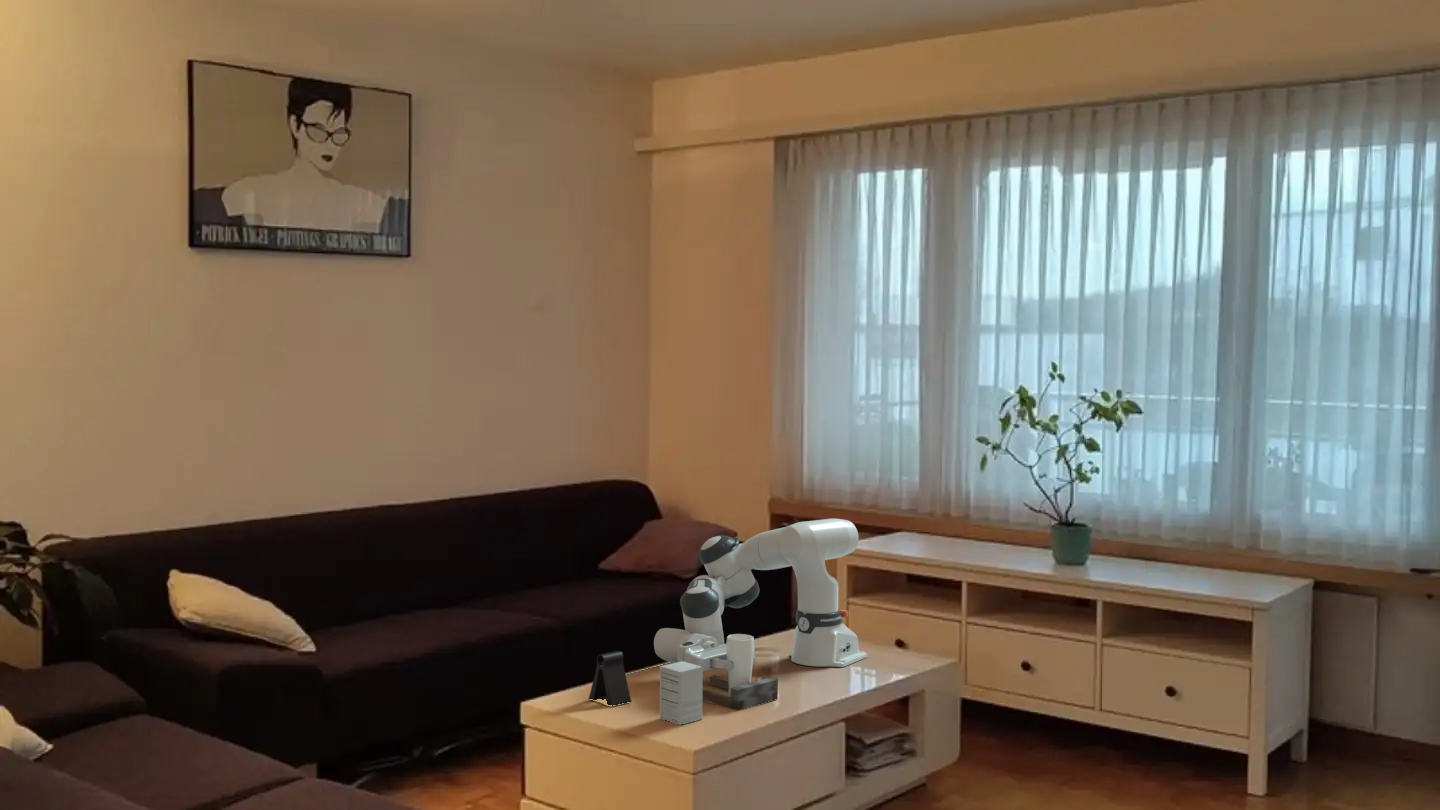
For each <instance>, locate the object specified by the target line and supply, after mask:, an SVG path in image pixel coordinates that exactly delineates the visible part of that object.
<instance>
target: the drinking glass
mask: <svg viewBox="0 0 1440 810" xmlns="http://www.w3.org/2000/svg"><path fill="white" fill-rule="evenodd" d="M726 643H727V645H726V655H727V660H730V661H733V663H734V664H733V668H731V669H726V670H727V678H728V686H729V689H728V696H729V697H731V688H732V687H736V686H740V685H744V684H748V683H752V677H753V676H752V675H753V665H754V663H753V658H754V647H755V638H754V636H752V635H750V634H745V633H743V634H742V633H734V634H729V635H728V636H727V637H726Z"/></svg>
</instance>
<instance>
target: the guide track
mask: <svg viewBox="0 0 1440 810" xmlns="http://www.w3.org/2000/svg"><path fill="white" fill-rule="evenodd" d="M778 681H779V680H778V679H776V678H773V677H768V678H764V679H760V680H756V681H751V683H748V684H744V685H740V686H736V687H732V688H731V697H729V695H725V694H721V693H719V692H714V691H710V690H706V689H703V688H702V701H703V700H704V701H703V702H706V701H707V703H710V702H711V703H710V704H713V703H714V704H713V705H717V704H718V705H717V706H720V705H721V707H725V708H727V707H728V708H727V709H731V710H734V709H735V711H741V709H742V710H745V709H748V708H747V707H749V708H752V707H751V706H753V707H755V705H756V706H759V705H758V704H760V705H763V704H762V703H764V704H766V703H765V702H767V703H769V702H768V701H771V700H774V701H776V700H775V699H778V692H779V691H778V687H779V682H778ZM708 685H712V686H714V687H718V688H721V687H722V689H726V690H729V686H728V677H723V676H719V675H715V674H714V675H709V676H708ZM771 702H772V701H771ZM744 708H745V709H744Z"/></svg>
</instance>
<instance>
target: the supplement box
mask: <svg viewBox="0 0 1440 810" xmlns="http://www.w3.org/2000/svg"><path fill="white" fill-rule="evenodd" d="M702 689H703V672H702V667H701V666H698V665H694V664H691V663H687V662H683V661H681V662H677V663H668V664H664V665H660V666H659V719H660V718H661V719H660V720H662V719H664V720H663V721H665V720H667V721H666V722H668V721H670V722H669V723H671V722H673V723H672V724H674V723H676V724H675V725H677V724H679V725H678V726H682V725H681V724H683V725H686V724H689V722H690V723H694V722H697V720H698V721H700V719H701V720H703V700H702ZM693 721H694V722H693Z"/></svg>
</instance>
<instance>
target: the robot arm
mask: <svg viewBox="0 0 1440 810" xmlns="http://www.w3.org/2000/svg"><path fill="white" fill-rule="evenodd" d="M739 542H740V540H739V538H738V537H731V536H729V535H722V534H721V535H716V536H713V537H711V538H709V539H707V540H706V541H705V542H704V543H703V544H702V545H701V546H700V547H699V551H698V557H699V561H700V563H701V564H702V565H704V568H705V570H706V572H707V574H708V575H707V574H703V575H702V574H701V575H699V576H697V577H695V578H694V579H692V581H690V583H689V584H688V587H687V589H686V591H685V592H684V593H683V594H682V595H681V597H680V598H679V604H680V607H681V612H682V615H683V617H682V618H683V623H684V624H683V625H684V629H680V628H671V627H663V628H662V627H661V628H659V629H658V631H656V634H655V636H654V639H653V648H654V652H655V654H656V656H657V657H658V658H660V660H661V659H662V660H664V661H665V662H668V663H670V664H673V663H677V662H681V661H683V662H687V663H691V664H694V665H698V666H701V667H702V673H704V672H709V671H712V670H717V669H726V670H727V669H731V668H733V664H734V663H733V661H730V660H727V655H726V645H727V642H725V637H724V631H723V623H722V615H723V612H724V609H725V607H730V608H734V609H741V608H744V607H746V606H748V605H750V604H751V603H753V602H754V601H755V600H756V599H757V597H759V593H760V590H761V589H760V587H759V583H758V580H757V579H755V577H754V574H753V572H752V570H758V571H759V570H760V571H770V570H772V571H773V570H778V569H783V568H788V567H792V569H793V571H794V574H795V577H796V583H797V609H796V611H795V612H796V613H795V622H796V624H797V625H796V627H795V628H794V637H793V647H792V651H790V654H789V655H790V656H791V660H790V661H792V663H795V664H798V665H802V666H808V667H834V668H835V667H838V668H843V667H847V666H848V665H851V664H853V663H856V662H858V661H861V660H863V659H866V658H867V657H868V653H867V652H865V651H863V650H859V649H860V648H859V639H858V636H857V634H856V633H855V632H854V631H852V629H850V628H849V627H847V626H846V625H845V624H844V623H843V619H842V618H844V619H845V618H846V619H847V618H848V616H849V611H848V610H847V609H846V610H844V609H839V583H838V581H837V579H836V578H835V577H834V576H832V575H831V574H829V572H828V570H827V567H826V561H830V560H834V559H839V558H840V559H841V558H842V557H846V556H847V555H850V554H852V553H854V551H856V549H857V548H858V545H859V532H858V529H857V528H856V526H855V524H854V523H853V522H852V521H850V520H847V519H843V518H841V519H840V518H836V517H835V518H834V517H833V518H825V519H815V520H814V519H813V520H809V521H808V520H807V521H798V522H796V523H793V524H790V525H788V526H784V527H781V528H775V529H771V530H767V531H762V532H759V533H757V534H755V535H753V536H751V537H750V538H748V539H747V540H746V541H744V542H742V543H739ZM753 664H756V648H755V646H754V658H753Z"/></svg>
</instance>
